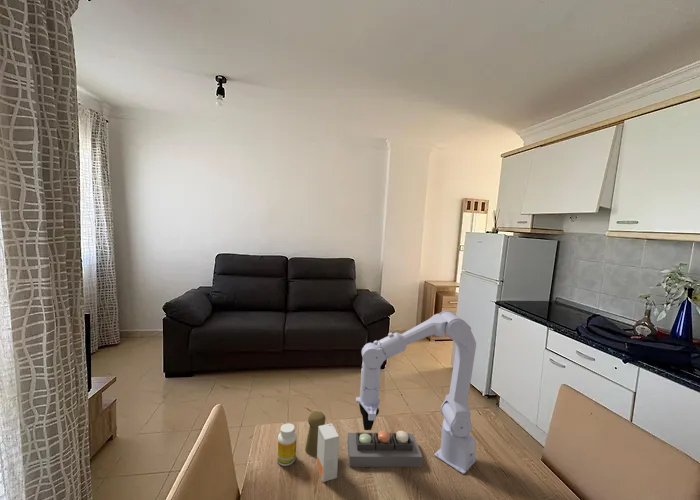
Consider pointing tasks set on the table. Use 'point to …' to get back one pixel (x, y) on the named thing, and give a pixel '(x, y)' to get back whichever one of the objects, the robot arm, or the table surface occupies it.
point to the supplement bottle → (286, 445)
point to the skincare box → (327, 452)
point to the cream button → (402, 437)
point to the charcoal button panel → (383, 452)
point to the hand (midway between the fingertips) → (367, 428)
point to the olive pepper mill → (314, 432)
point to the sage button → (365, 438)
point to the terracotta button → (383, 437)
